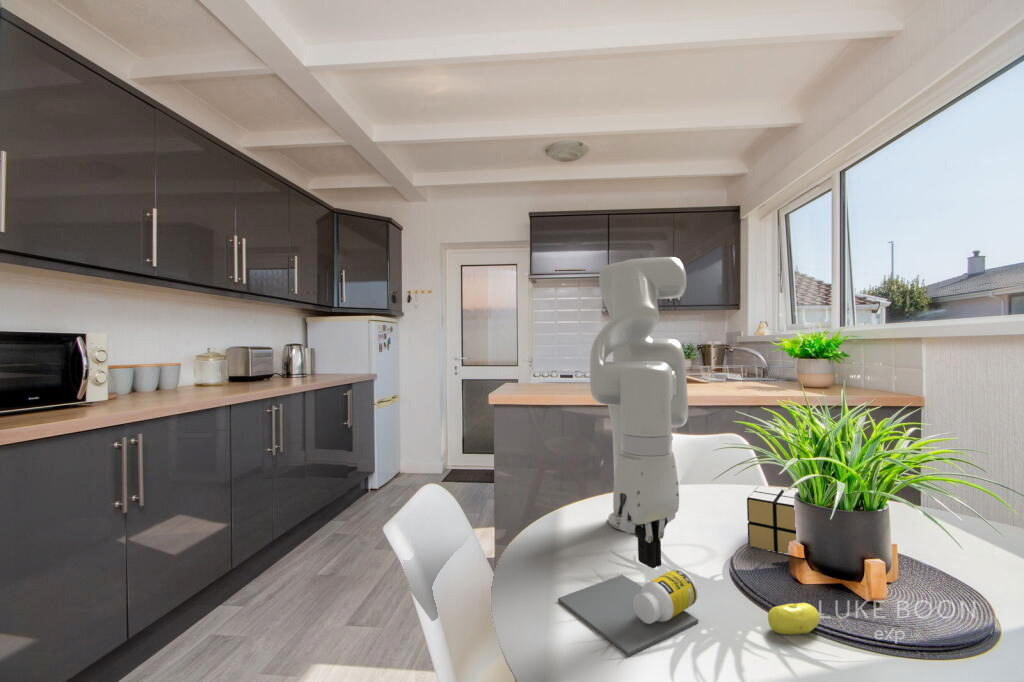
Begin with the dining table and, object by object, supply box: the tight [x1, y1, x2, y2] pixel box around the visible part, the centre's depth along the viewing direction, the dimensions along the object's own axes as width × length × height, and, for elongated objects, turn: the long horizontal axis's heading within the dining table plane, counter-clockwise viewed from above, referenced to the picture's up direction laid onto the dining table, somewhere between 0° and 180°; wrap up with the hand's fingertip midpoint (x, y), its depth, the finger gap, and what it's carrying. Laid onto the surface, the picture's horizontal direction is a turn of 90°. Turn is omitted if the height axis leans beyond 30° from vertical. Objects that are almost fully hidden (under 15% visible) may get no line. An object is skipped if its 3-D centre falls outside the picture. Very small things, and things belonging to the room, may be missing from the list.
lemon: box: [767, 602, 821, 635], centre depth 67 cm, size 4×8×4 cm, turn 98°
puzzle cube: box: [746, 485, 797, 553], centre depth 95 cm, size 10×10×10 cm
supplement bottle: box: [633, 568, 699, 624], centre depth 71 cm, size 5×5×10 cm
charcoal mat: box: [557, 574, 699, 657], centre depth 73 cm, size 14×16×1 cm
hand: (649, 563), depth 72 cm, fingers closed
